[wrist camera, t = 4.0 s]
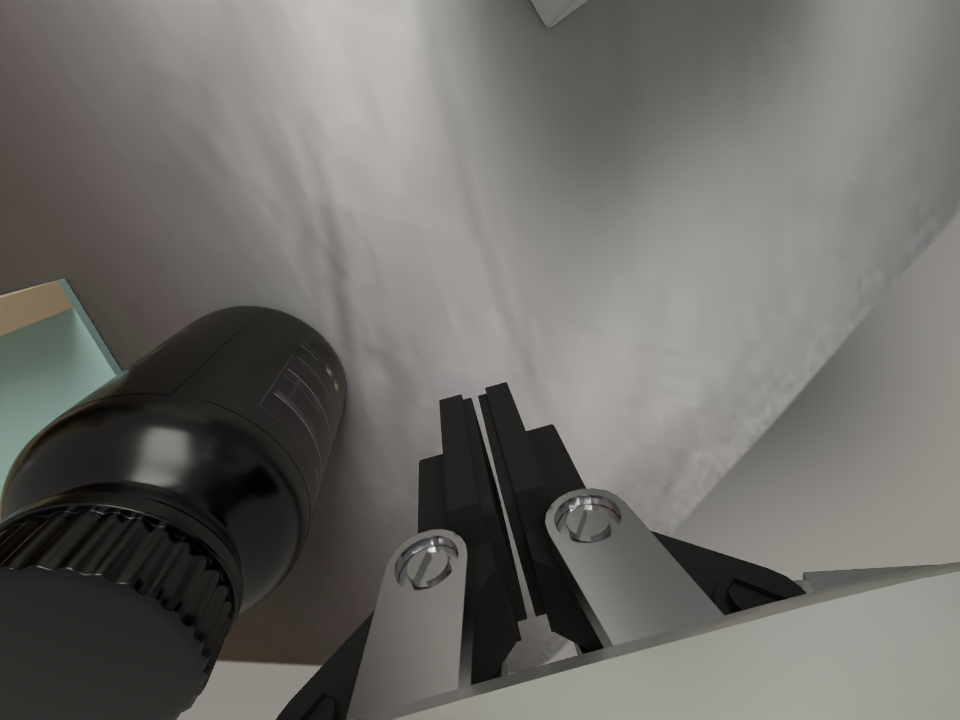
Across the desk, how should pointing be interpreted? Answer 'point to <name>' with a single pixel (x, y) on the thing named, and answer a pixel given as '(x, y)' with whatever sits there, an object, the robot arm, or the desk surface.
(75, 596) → the supplement bottle
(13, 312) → the wooden tray
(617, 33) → the desk surface
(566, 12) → the skincare box
